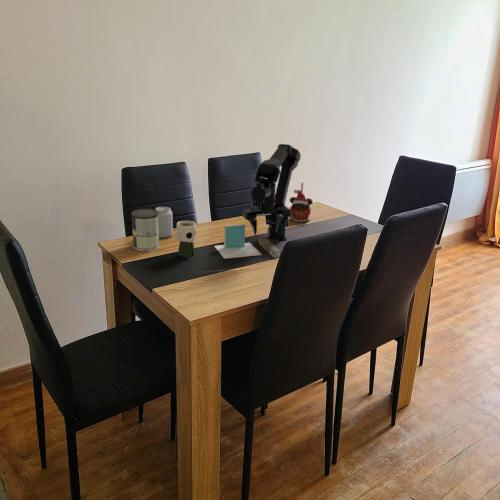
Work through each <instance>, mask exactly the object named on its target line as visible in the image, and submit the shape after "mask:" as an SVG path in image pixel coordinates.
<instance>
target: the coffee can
mask: <svg viewBox="0 0 500 500" xmlns="http://www.w3.org/2000/svg"><path fill="white" fill-rule="evenodd" d="M130 214H131V224H132V227H131V228H132V229H131V230H132V242H133V243H132V244H133V246H132V247H133V249H134V250H136V251H138V252H139V251H140V252H149V251H151V252H152V251H155V250H158V249H159V248H160V238H159V224H158V214H159V213H158V211H156V209H153V208H139V209H135V210H133V211H131V213H130Z"/></svg>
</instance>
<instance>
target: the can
mask: <svg viewBox="0 0 500 500" xmlns="http://www.w3.org/2000/svg"><path fill="white" fill-rule="evenodd" d="M155 210H156V211H158V213H159V214H158V224H159V239H168V237H169V238H171V237H172V236H173V234H174V228H173V227H174V226H173V225H174V224H173V223H174V222H173V211H172V209H171V207H168V206H157V207H156V208H155Z"/></svg>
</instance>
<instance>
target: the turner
mask: <svg viewBox="0 0 500 500" xmlns="http://www.w3.org/2000/svg"><path fill="white" fill-rule="evenodd" d="M258 245H260V246H261V247H262V248H263V249H264V250H265V252H267V253H268V254H270V255H271V256H272V257H273V258H276V259H277V258H280V250H279V248H277V246H275V244H274V243H273V242H271V241H270V240H269V238H268V237H267V236H260V237H259V238H258Z"/></svg>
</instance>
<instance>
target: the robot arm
mask: <svg viewBox="0 0 500 500" xmlns="http://www.w3.org/2000/svg"><path fill="white" fill-rule="evenodd" d="M301 156H302V155H301V152H300V150H299V149H297V148H295V147H293V146H292V145H290V144H286V143H285V144H284V143H279V144H278V145H277V148H276V150H275V151H274V152H273V154H272V155H271V156H270V158H269V159H265V160H263V161H261V163H260V164H259V165H258V168H257V170H256V171H257V172H256V175H255V178H254V182H255V183H256V186H254V187H253V188H252V189H251V193H250V194H251V195H250V196H251V198H250V207H253V208H254V209H255V210H254V209H253V208H245V209H242V212H241V215H242V216H241V217H243V219H245V220H246V221H248V222H249V223H250V226H251V228H252V231H253V232H252V233H253V234H254V236H256V235H257V232H258V230H257V228H258V220H257V217H263V216H264V218H265V224H266V225H268V227H267V236H266V238H267V239H271V240H273V239H274V240H278V241H286V240H287V238H286V227H289V223H290V217H291V213H292V212H291V210H290V208H289V207H288V206H286V199H287V196H288V192H289V186H290V184H291V183H290V181H291V177H292V173H293V171H294V170H295V169H296V168H297V167H298V165H299V162H300V160H301ZM280 167H281V169H280ZM276 184H277V186H276ZM256 210H257V211H256Z"/></svg>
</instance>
